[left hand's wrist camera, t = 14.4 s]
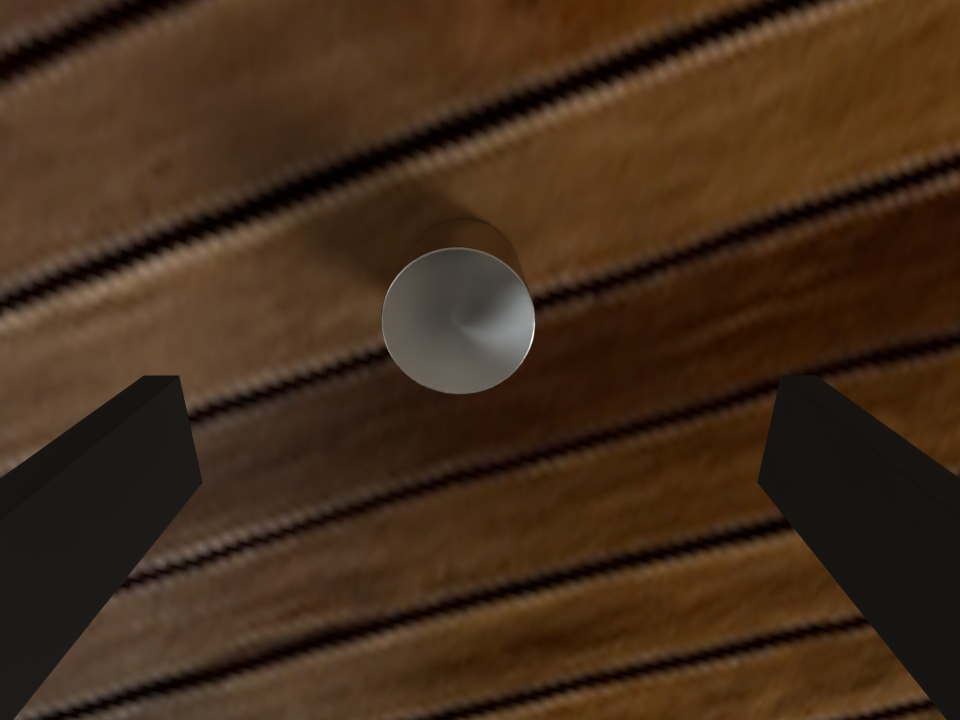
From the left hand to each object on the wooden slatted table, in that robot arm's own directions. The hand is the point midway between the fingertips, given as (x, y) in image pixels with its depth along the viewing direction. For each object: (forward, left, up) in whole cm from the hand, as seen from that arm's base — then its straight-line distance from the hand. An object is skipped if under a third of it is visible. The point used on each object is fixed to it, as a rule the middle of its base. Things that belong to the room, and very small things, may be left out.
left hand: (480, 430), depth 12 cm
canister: (-1, 0, -14) cm, 14 cm away
